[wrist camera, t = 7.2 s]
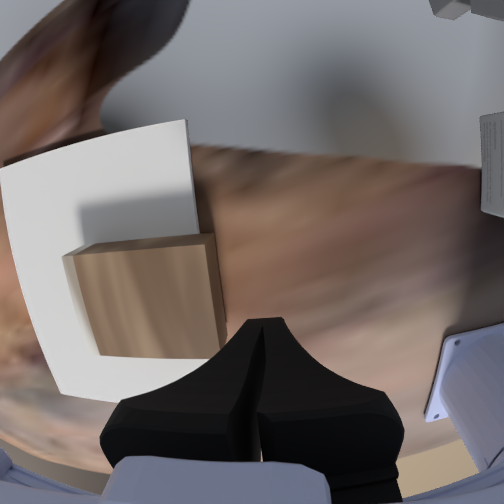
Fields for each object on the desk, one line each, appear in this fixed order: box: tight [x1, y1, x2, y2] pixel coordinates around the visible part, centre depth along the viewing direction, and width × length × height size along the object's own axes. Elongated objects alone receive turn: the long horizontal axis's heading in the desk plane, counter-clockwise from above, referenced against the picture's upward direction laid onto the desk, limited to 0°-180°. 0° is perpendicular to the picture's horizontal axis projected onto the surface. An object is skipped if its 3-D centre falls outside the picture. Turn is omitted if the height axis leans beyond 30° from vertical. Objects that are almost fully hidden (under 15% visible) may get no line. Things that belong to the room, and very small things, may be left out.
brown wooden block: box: [61, 232, 228, 359], centre depth 16 cm, size 2×6×8 cm
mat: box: [0, 119, 209, 403], centre depth 18 cm, size 14×18×1 cm
